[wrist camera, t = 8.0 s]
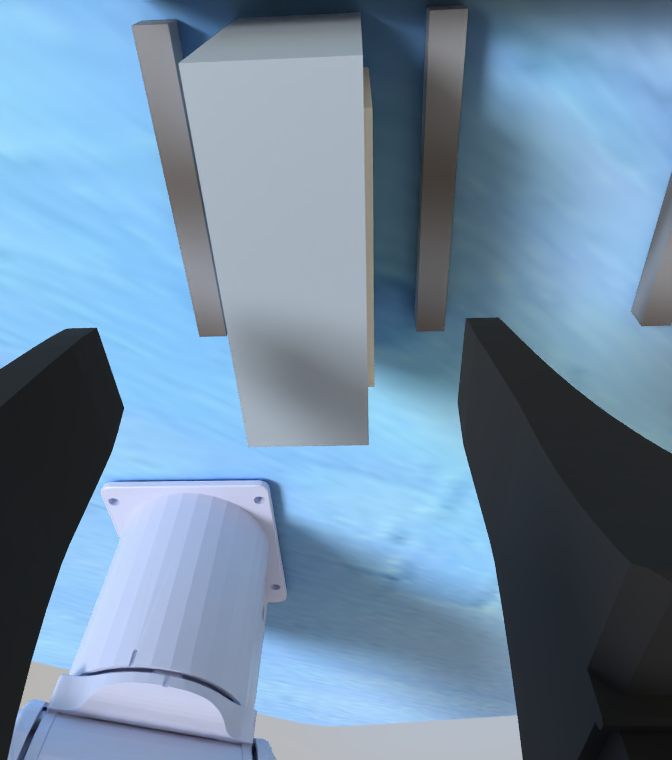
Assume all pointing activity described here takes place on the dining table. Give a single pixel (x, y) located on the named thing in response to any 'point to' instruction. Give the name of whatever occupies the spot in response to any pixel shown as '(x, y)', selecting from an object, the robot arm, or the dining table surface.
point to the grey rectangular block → (290, 218)
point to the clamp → (436, 190)
